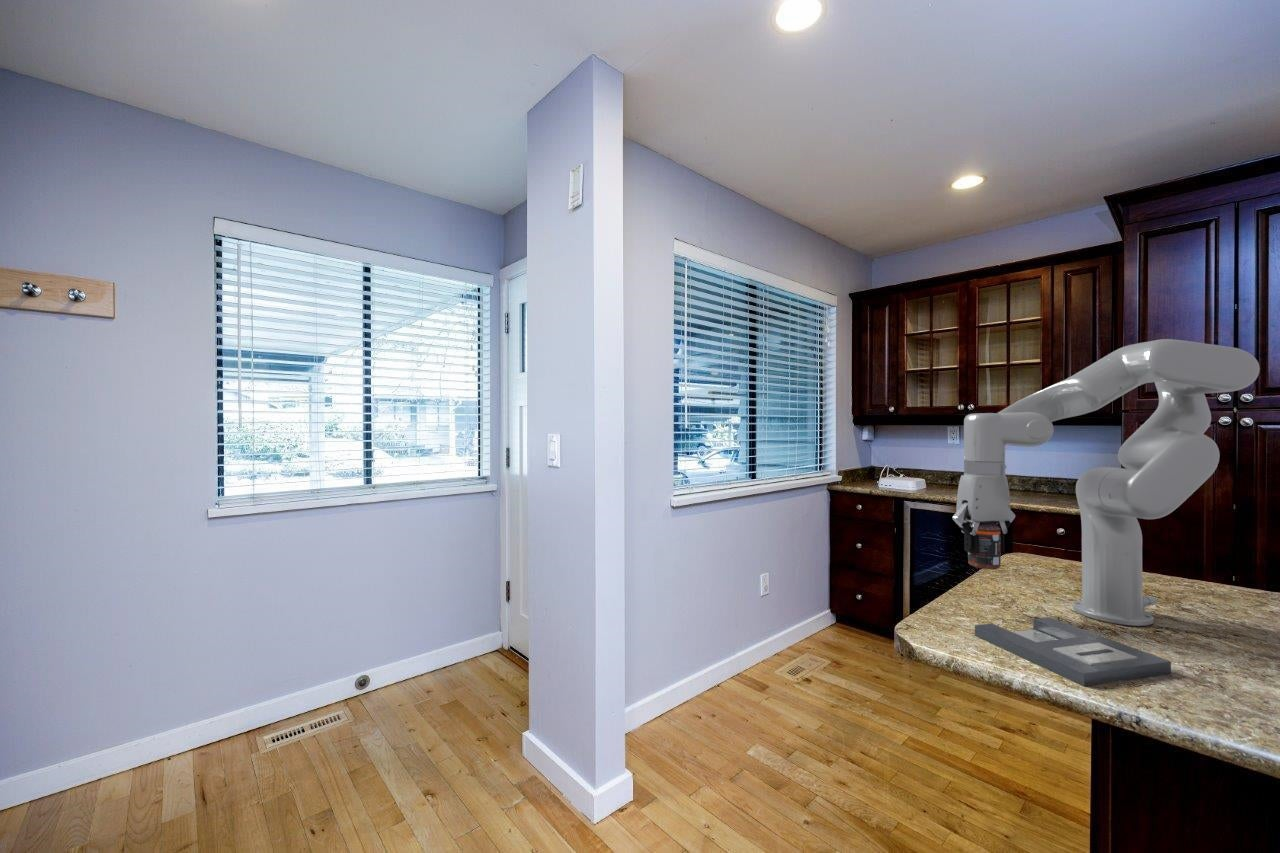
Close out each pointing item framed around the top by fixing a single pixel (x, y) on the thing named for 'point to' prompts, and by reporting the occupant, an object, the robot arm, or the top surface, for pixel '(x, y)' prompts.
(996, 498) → the robot arm
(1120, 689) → the top surface
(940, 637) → the top surface
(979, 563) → the supplement bottle
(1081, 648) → the plate
